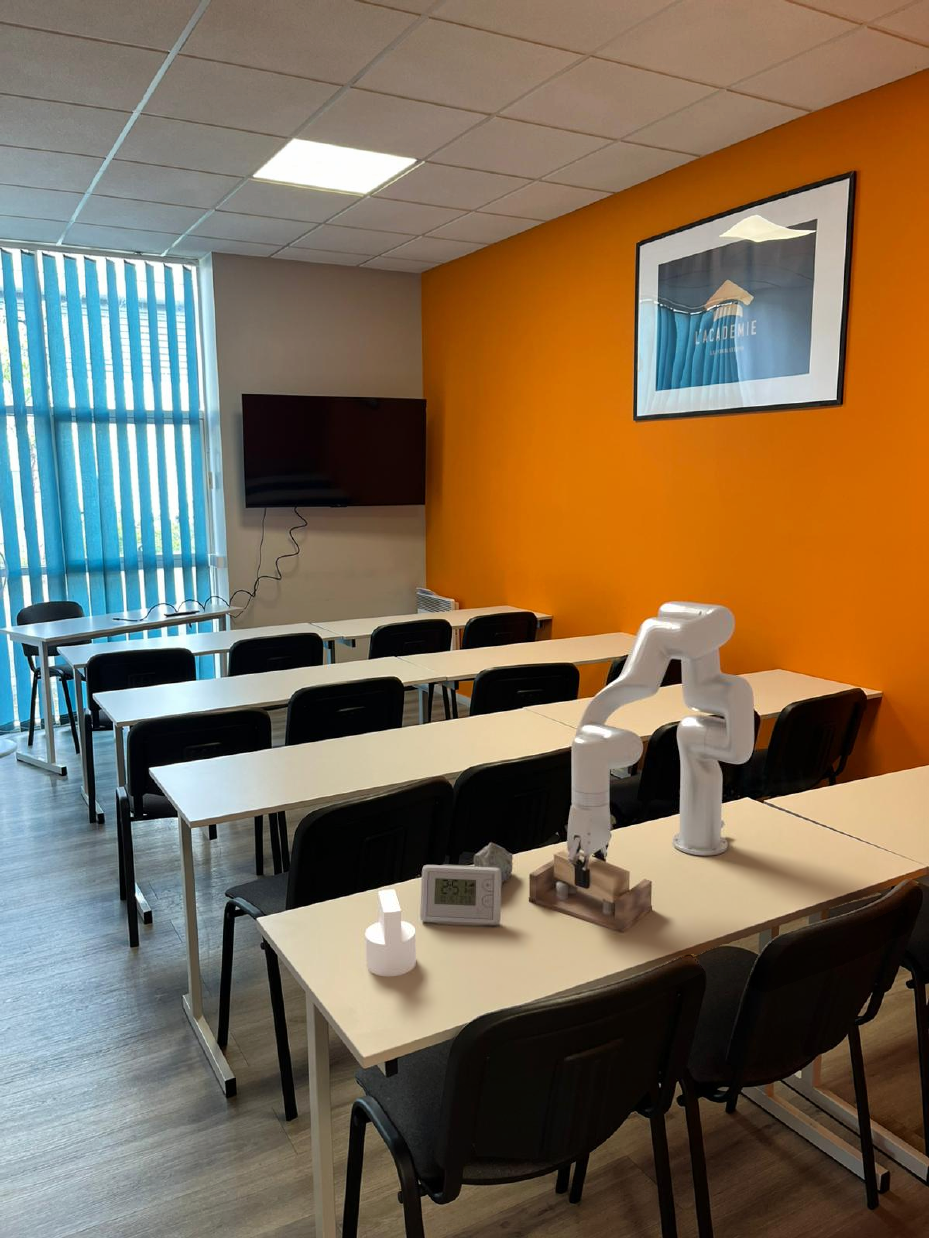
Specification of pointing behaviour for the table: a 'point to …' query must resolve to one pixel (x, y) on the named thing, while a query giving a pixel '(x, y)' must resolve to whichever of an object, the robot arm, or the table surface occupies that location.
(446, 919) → the digital clock
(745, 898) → the table surface
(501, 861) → the mineral rock
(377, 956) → the base with upright slab
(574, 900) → the peg cradle
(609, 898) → the board
